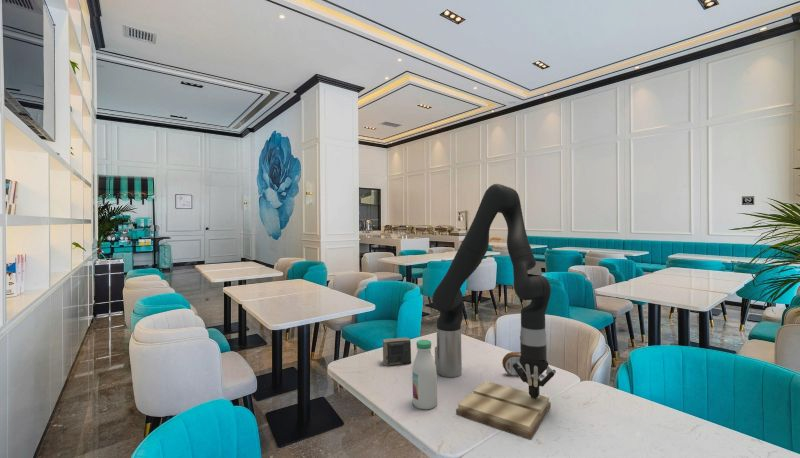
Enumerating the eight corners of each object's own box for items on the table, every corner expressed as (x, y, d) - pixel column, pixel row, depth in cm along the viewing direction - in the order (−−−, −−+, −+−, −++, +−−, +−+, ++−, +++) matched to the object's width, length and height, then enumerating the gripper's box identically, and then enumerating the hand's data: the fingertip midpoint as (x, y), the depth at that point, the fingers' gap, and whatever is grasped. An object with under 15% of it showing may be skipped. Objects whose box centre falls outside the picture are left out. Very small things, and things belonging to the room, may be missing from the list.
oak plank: (473, 395, 117) (473, 390, 117) (484, 384, 124) (484, 380, 124) (540, 414, 105) (540, 409, 105) (548, 402, 112) (548, 397, 112)
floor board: (456, 414, 109) (455, 404, 109) (483, 388, 125) (483, 379, 125) (530, 439, 96) (530, 428, 96) (550, 407, 112) (550, 397, 112)
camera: (409, 359, 152) (409, 336, 152) (412, 365, 146) (411, 340, 146) (382, 361, 150) (382, 337, 150) (383, 367, 145) (383, 342, 145)
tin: (543, 374, 135) (543, 351, 135) (546, 377, 132) (545, 355, 132) (502, 373, 137) (501, 351, 137) (503, 377, 134) (503, 354, 134)
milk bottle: (439, 399, 118) (438, 338, 117) (434, 412, 111) (432, 346, 110) (416, 396, 120) (415, 336, 120) (409, 408, 113) (408, 344, 113)
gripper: (559, 341, 110) (560, 398, 111) (516, 334, 118) (516, 386, 119) (552, 349, 104) (553, 408, 105) (507, 340, 112) (508, 396, 113)
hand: (534, 397), depth 112 cm, fingers closed
